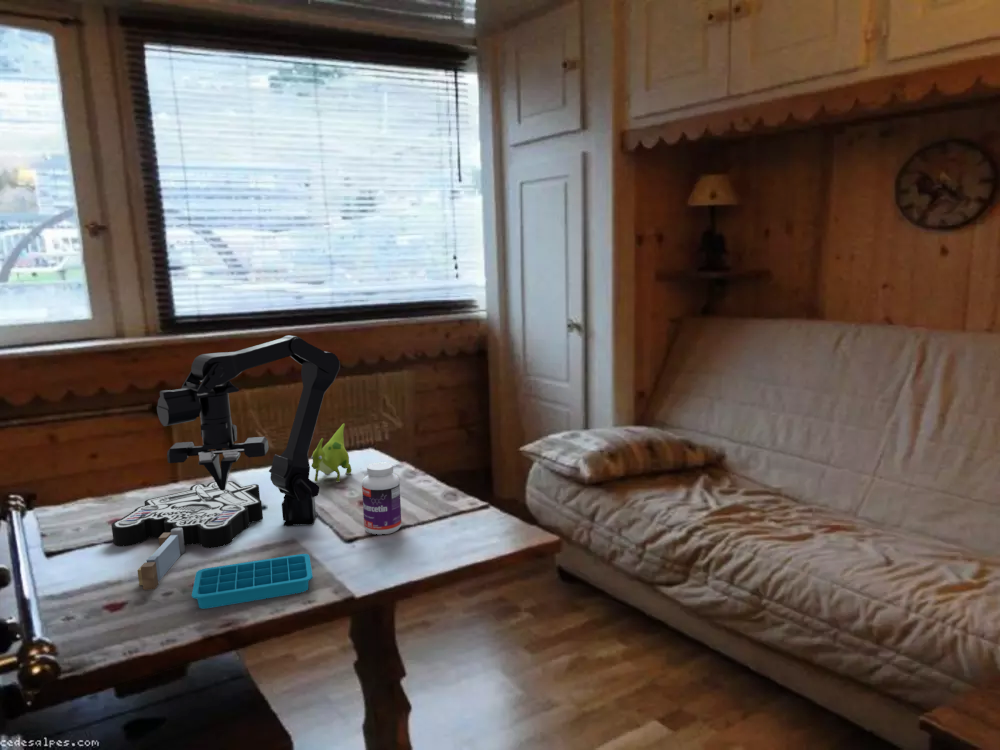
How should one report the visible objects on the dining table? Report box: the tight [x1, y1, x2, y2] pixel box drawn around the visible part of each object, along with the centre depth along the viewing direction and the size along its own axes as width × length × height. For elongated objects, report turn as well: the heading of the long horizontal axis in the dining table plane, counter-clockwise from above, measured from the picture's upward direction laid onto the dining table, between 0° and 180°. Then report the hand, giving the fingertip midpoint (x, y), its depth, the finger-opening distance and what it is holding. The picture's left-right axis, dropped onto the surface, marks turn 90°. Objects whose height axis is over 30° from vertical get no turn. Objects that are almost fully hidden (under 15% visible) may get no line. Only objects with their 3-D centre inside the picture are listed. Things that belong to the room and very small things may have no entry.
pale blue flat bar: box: [146, 528, 186, 583], centre depth 139 cm, size 2×15×5 cm, turn 5°
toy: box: [310, 423, 353, 483], centre depth 190 cm, size 8×21×15 cm, turn 171°
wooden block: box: [137, 561, 159, 591], centre depth 132 cm, size 4×5×4 cm
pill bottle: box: [361, 461, 402, 536], centre depth 154 cm, size 8×8×14 cm
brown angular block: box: [158, 532, 171, 547], centre depth 145 cm, size 2×3×4 cm, turn 5°
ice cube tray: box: [191, 553, 314, 609], centre depth 130 cm, size 12×20×3 cm, turn 108°
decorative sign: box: [110, 480, 264, 549], centre depth 163 cm, size 28×4×30 cm
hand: (223, 489), depth 147 cm, fingers closed
